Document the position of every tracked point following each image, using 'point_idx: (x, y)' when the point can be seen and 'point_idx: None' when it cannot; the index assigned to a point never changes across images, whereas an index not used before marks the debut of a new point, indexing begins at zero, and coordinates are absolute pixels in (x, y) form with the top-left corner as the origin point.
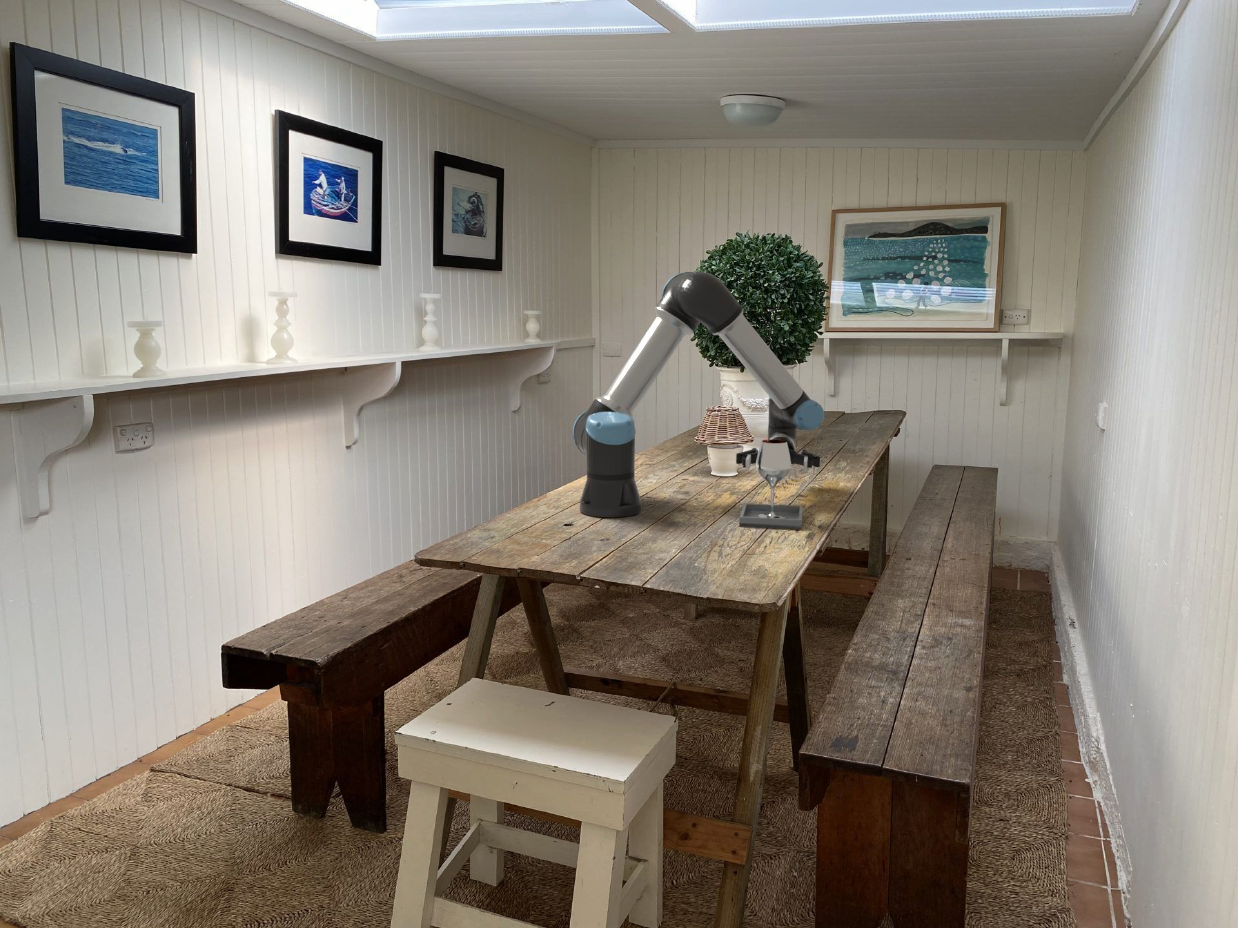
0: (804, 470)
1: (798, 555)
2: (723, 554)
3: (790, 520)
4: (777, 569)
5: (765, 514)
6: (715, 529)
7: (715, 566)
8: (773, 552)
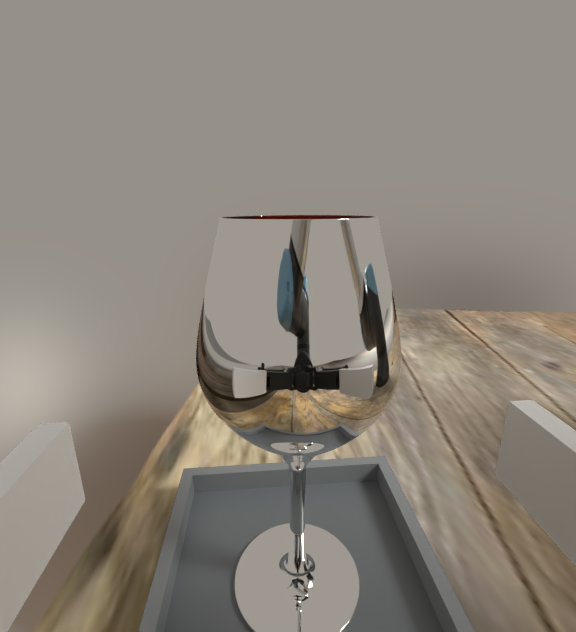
0: (76, 482)
1: None
2: None
3: (221, 468)
4: None
5: (331, 596)
6: (426, 445)
7: None
8: None
